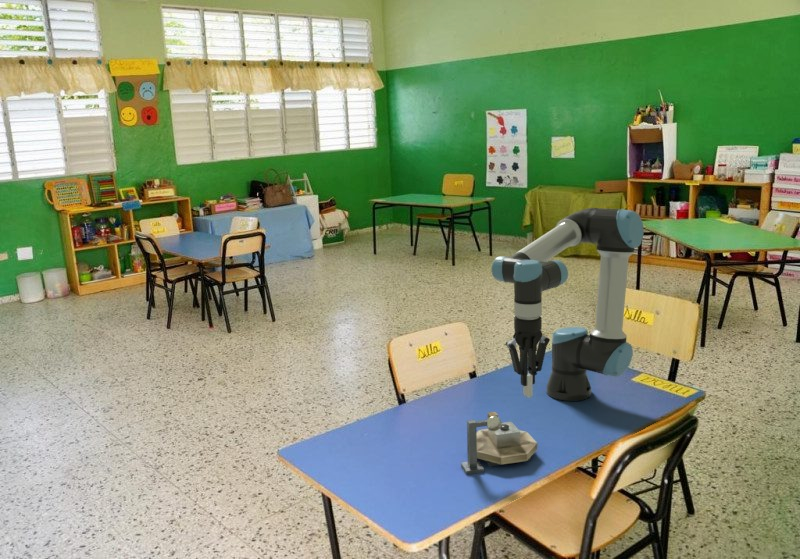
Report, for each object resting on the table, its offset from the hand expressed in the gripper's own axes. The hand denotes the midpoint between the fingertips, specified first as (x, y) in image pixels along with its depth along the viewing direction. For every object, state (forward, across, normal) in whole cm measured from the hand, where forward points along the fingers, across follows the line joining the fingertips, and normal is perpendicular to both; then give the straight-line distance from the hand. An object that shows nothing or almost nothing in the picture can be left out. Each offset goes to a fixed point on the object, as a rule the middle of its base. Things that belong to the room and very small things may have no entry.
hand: (527, 395), depth 191 cm
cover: (+12, +8, +1) cm, 15 cm away
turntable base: (+16, +8, +1) cm, 18 cm away
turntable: (+14, +8, +1) cm, 17 cm away
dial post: (+16, +17, +6) cm, 24 cm away
